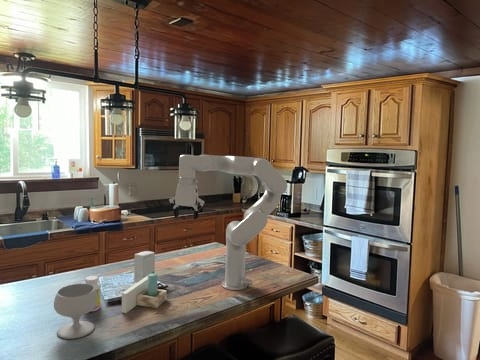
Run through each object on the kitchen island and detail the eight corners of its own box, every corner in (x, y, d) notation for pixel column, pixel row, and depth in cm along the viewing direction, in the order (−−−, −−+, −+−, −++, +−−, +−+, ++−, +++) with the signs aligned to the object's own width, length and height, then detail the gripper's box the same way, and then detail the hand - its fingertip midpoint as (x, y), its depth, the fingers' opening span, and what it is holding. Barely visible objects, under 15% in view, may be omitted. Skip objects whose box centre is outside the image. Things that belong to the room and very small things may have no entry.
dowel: (158, 301, 151) (159, 274, 150) (154, 305, 147) (154, 277, 146) (150, 299, 152) (150, 272, 151) (145, 303, 148) (146, 276, 147)
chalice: (104, 322, 132) (104, 283, 130) (85, 342, 118) (85, 299, 116) (68, 319, 133) (67, 281, 131) (45, 339, 119) (44, 297, 117)
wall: (153, 291, 161) (153, 274, 160) (126, 313, 139) (126, 293, 139) (149, 291, 161) (149, 274, 160) (121, 312, 140) (121, 293, 139)
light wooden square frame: (166, 299, 153) (166, 290, 153) (156, 308, 144) (156, 298, 144) (147, 296, 155) (148, 287, 155) (137, 304, 146) (137, 295, 146)
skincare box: (142, 287, 165) (143, 256, 164) (133, 284, 168) (133, 253, 167) (155, 281, 173) (155, 251, 171) (146, 278, 176) (146, 249, 174)
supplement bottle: (79, 312, 139) (79, 280, 137) (85, 304, 145) (85, 274, 144) (97, 312, 139) (97, 281, 138) (102, 305, 146) (102, 274, 144)
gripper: (207, 182, 164) (206, 218, 166) (173, 179, 169) (172, 214, 170) (201, 183, 157) (200, 221, 159) (166, 181, 161) (165, 217, 163)
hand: (186, 217), depth 164 cm, fingers open, 9 cm apart
